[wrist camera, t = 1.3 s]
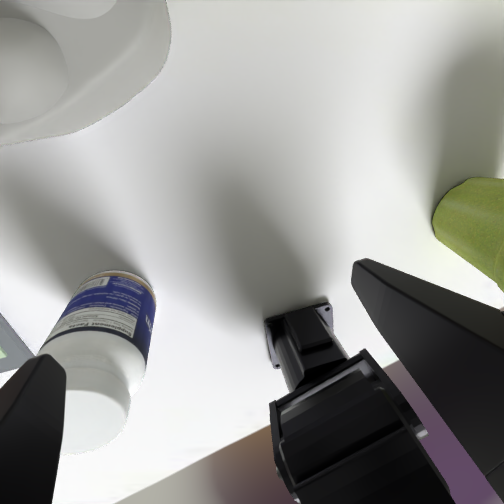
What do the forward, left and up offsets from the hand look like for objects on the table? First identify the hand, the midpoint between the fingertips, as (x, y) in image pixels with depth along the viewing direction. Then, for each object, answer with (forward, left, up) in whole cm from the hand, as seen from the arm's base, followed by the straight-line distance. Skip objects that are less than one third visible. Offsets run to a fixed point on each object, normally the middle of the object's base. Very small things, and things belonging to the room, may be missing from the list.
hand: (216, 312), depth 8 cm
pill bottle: (-6, +8, -13) cm, 17 cm away
